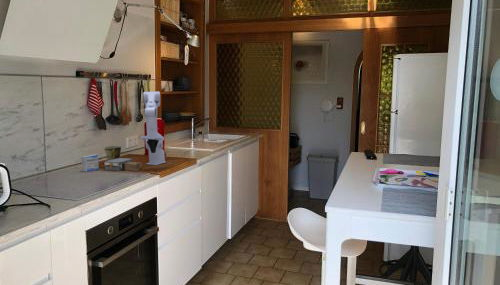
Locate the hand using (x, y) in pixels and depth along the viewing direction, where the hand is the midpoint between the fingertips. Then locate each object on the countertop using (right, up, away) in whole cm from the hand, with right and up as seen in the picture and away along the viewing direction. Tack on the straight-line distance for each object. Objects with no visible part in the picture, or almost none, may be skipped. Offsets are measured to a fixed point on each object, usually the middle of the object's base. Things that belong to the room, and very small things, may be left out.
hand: (153, 152), depth 239 cm
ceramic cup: (-30, -7, +24) cm, 39 cm away
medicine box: (-36, -10, +3) cm, 38 cm away
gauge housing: (-21, -9, +7) cm, 24 cm away
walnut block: (-12, -10, +2) cm, 16 cm away
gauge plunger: (-20, -9, +5) cm, 22 cm away
